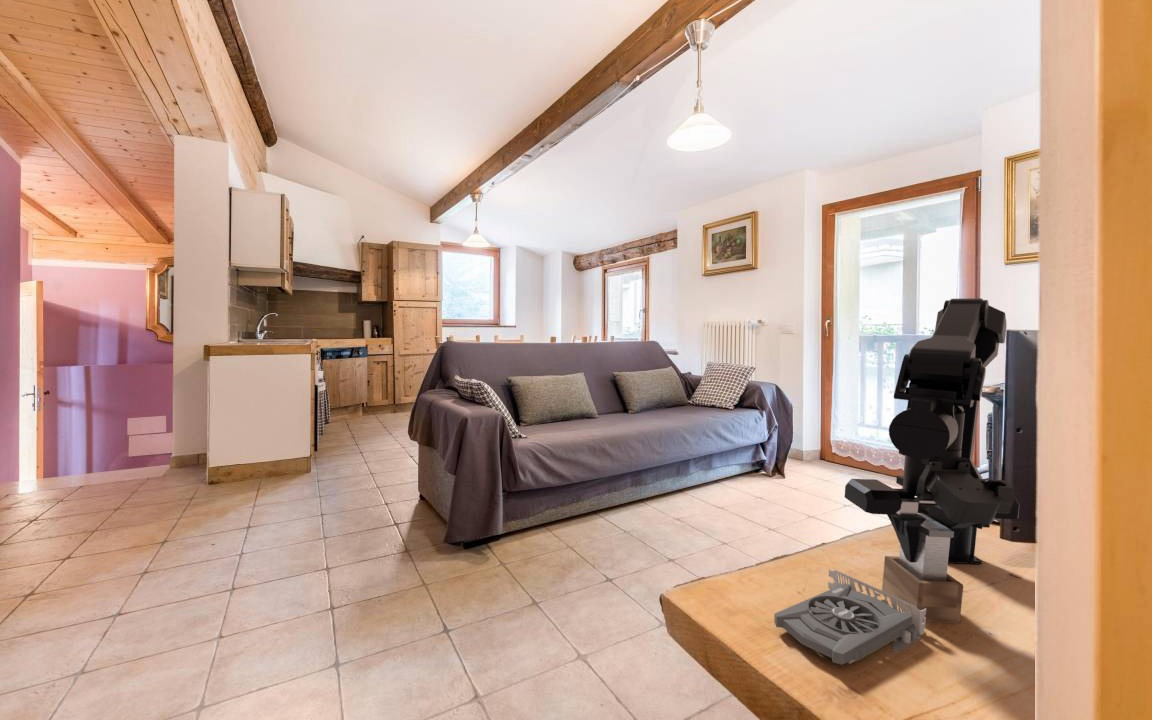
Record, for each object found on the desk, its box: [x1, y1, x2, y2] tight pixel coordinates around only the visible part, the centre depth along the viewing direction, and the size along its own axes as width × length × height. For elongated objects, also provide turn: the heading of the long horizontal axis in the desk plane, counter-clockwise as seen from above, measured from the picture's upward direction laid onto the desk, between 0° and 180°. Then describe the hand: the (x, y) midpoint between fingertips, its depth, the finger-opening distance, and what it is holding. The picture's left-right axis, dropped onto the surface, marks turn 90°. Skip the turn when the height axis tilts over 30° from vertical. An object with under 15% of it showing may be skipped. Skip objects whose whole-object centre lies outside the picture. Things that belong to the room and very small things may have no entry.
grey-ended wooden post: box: [899, 513, 954, 582], centre depth 63 cm, size 6×3×8 cm, turn 178°
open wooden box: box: [881, 555, 964, 624], centre depth 63 cm, size 5×7×5 cm
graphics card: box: [773, 569, 927, 666], centre depth 59 cm, size 17×4×12 cm
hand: (922, 561), depth 63 cm, fingers closed on grey-ended wooden post, 3 cm apart
